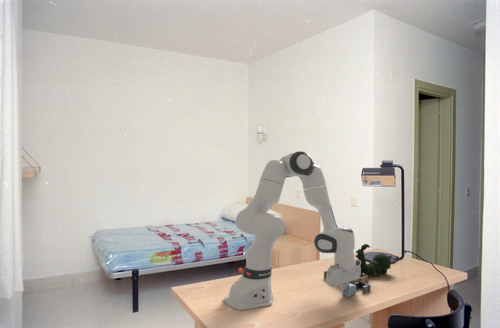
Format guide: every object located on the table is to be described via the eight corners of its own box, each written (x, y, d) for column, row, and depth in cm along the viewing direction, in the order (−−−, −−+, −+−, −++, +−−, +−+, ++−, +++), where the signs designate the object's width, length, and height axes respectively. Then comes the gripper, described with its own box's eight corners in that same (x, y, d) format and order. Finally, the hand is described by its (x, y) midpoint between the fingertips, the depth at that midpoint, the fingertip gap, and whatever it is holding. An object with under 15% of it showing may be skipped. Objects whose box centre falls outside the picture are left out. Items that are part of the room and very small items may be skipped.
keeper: (364, 293, 166) (364, 287, 166) (353, 289, 171) (353, 283, 171) (370, 291, 169) (370, 285, 169) (359, 287, 174) (360, 281, 174)
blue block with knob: (347, 296, 161) (347, 285, 161) (342, 294, 164) (342, 283, 164) (355, 293, 165) (356, 283, 165) (350, 291, 167) (350, 281, 167)
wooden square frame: (350, 289, 170) (350, 281, 170) (323, 278, 184) (324, 271, 184) (368, 283, 179) (368, 275, 179) (341, 273, 193) (342, 266, 192)
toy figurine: (365, 283, 183) (398, 273, 194) (364, 248, 182) (397, 239, 193) (352, 277, 192) (385, 267, 203) (351, 243, 190) (384, 235, 201)
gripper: (334, 268, 152) (333, 299, 153) (363, 260, 164) (362, 289, 165) (323, 264, 158) (322, 294, 158) (352, 257, 169) (351, 285, 170)
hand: (343, 291), depth 162 cm, fingers closed
